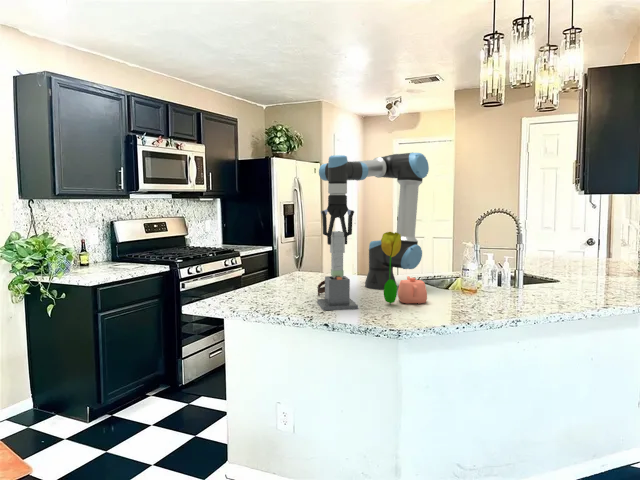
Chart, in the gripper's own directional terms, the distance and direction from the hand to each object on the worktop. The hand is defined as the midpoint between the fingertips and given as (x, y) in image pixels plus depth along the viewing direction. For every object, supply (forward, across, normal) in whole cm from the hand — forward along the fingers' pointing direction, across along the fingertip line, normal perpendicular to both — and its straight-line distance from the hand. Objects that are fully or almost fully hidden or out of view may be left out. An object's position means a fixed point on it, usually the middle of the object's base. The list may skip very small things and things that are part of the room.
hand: (337, 252), depth 194 cm
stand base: (+22, 0, 0) cm, 22 cm away
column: (+12, 0, 0) cm, 12 cm away
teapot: (+22, -33, -2) cm, 40 cm away
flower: (+22, -22, +2) cm, 31 cm away
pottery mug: (+22, -1, -21) cm, 31 cm away
